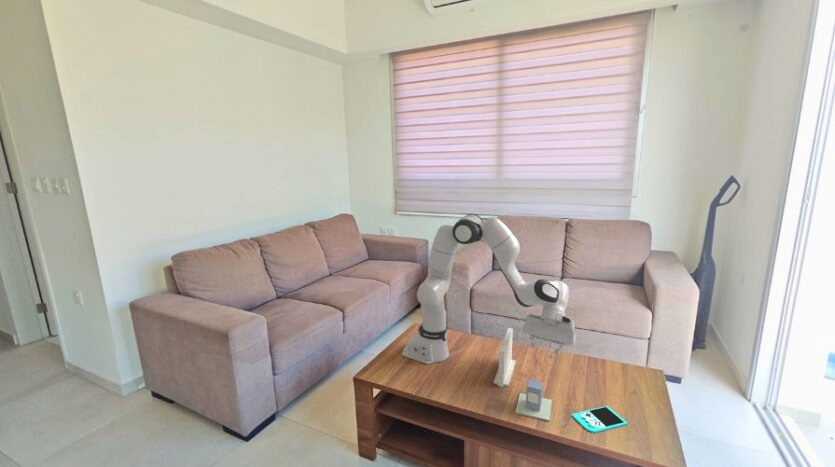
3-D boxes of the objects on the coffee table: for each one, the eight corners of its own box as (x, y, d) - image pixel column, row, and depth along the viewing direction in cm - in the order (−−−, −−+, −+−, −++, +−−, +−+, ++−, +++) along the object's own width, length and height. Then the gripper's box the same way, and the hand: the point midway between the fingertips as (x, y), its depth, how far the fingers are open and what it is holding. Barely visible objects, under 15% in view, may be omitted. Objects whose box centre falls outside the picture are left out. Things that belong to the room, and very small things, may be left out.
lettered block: (525, 408, 140) (526, 386, 138) (528, 399, 145) (529, 379, 143) (539, 412, 138) (540, 390, 136) (541, 403, 143) (543, 382, 141)
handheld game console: (570, 416, 137) (570, 413, 137) (606, 407, 142) (606, 404, 141) (590, 435, 128) (590, 432, 127) (628, 425, 132) (628, 422, 132)
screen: (493, 385, 155) (494, 349, 152) (502, 358, 175) (504, 327, 172) (507, 388, 153) (509, 352, 150) (515, 361, 173) (517, 329, 169)
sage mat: (515, 413, 138) (515, 411, 138) (519, 394, 149) (519, 392, 149) (549, 421, 134) (549, 420, 134) (551, 401, 145) (551, 399, 145)
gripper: (525, 310, 158) (516, 341, 152) (577, 321, 147) (570, 355, 141) (528, 316, 162) (520, 346, 156) (578, 327, 151) (571, 360, 145)
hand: (544, 350), depth 149 cm, fingers open, 8 cm apart
